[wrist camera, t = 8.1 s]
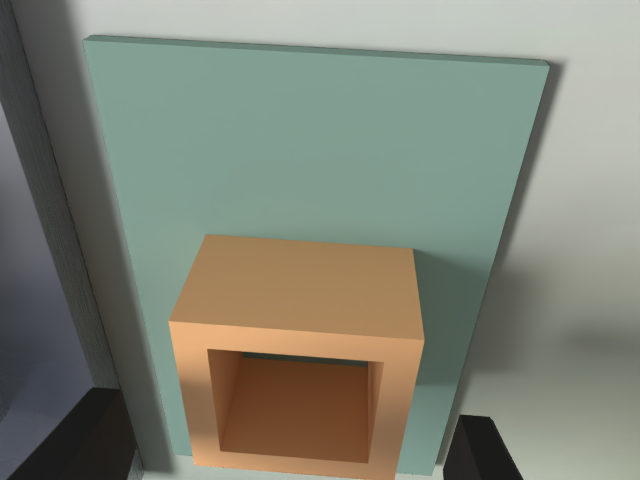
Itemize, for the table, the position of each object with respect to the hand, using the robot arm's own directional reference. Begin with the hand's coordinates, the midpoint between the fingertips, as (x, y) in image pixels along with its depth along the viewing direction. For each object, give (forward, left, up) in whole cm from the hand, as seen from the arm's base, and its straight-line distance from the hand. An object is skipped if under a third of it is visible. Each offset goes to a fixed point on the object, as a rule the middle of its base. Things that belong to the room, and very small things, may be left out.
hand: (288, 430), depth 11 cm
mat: (0, 0, -4) cm, 4 cm away
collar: (0, 0, -3) cm, 3 cm away
